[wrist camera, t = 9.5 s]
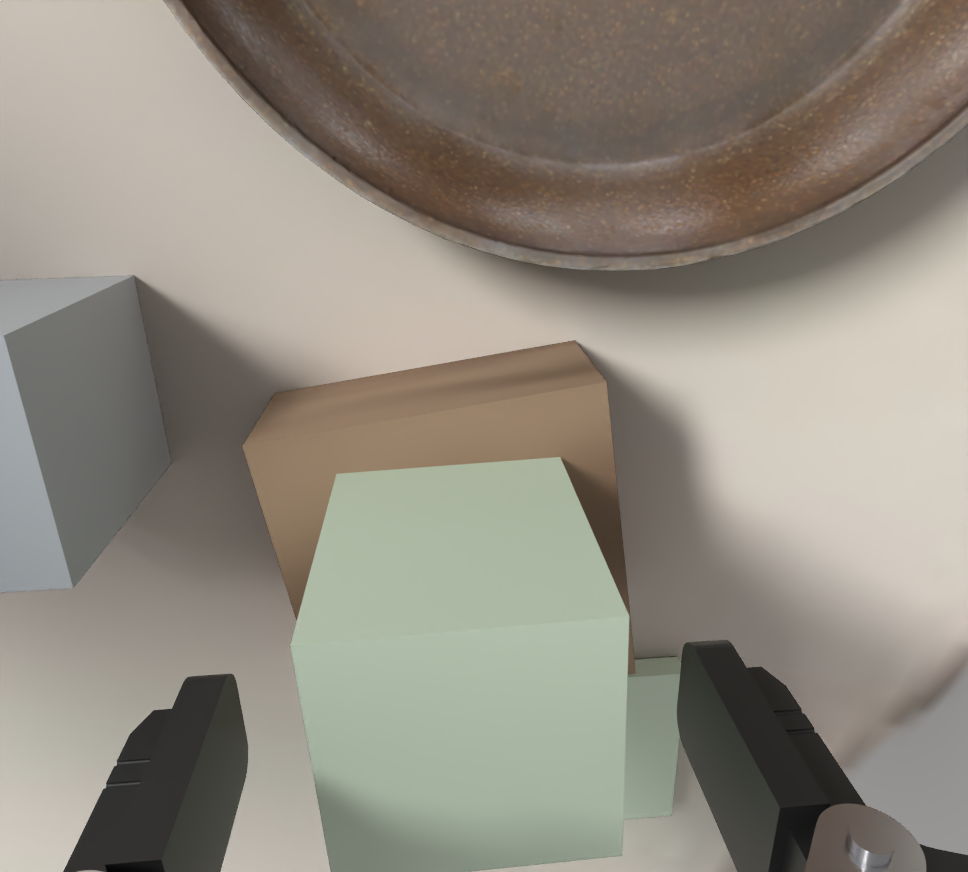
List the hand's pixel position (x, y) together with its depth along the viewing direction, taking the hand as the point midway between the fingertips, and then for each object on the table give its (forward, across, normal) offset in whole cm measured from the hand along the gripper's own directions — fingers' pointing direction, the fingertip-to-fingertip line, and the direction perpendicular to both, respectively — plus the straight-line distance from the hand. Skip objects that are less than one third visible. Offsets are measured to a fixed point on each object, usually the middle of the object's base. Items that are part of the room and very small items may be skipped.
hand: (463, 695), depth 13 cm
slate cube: (+8, +10, -4) cm, 13 cm away
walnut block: (+8, 0, 0) cm, 9 cm away
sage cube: (+4, 0, 0) cm, 5 cm away
